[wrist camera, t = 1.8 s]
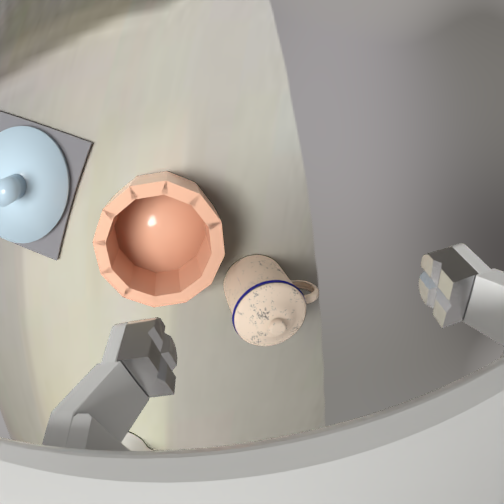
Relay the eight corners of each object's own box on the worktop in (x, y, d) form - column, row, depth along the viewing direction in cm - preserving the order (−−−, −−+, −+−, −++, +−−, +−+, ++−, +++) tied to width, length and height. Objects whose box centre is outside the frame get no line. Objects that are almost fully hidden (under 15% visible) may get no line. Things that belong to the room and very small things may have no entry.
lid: (54, 255, 36) (41, 272, 32) (-30, 220, 31) (-48, 231, 26) (86, 145, 33) (74, 148, 28) (-7, 113, 27) (-26, 114, 23)
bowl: (190, 291, 44) (194, 319, 37) (94, 258, 38) (81, 282, 32) (233, 197, 40) (245, 212, 34) (128, 156, 35) (119, 162, 29)
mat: (58, 258, 37) (56, 260, 37) (-31, 221, 31) (-33, 222, 31) (92, 142, 33) (91, 142, 33) (-6, 109, 27) (-8, 109, 27)
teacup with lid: (225, 314, 46) (242, 367, 36) (217, 258, 43) (233, 303, 32) (302, 299, 49) (336, 344, 38) (302, 243, 45) (341, 281, 34)
